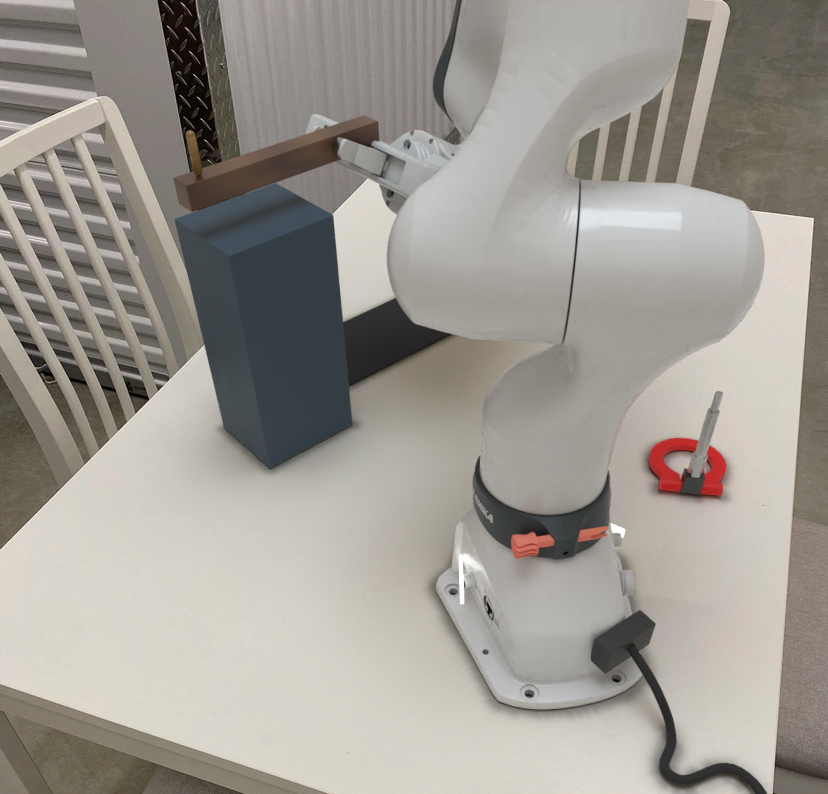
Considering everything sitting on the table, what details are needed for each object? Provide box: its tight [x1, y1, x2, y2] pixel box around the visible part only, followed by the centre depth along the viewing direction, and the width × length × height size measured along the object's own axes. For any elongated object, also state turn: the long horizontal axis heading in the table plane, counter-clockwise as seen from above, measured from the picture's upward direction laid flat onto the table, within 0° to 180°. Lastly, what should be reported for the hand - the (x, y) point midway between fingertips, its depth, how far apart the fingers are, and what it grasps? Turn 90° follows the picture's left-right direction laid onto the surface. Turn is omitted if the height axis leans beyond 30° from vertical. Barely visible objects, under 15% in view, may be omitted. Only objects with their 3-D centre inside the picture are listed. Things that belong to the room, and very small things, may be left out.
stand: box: [173, 182, 353, 470], centre depth 89 cm, size 12×10×26 cm
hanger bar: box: [172, 114, 380, 213], centre depth 77 cm, size 22×2×6 cm, turn 131°
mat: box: [343, 297, 452, 387], centre depth 111 cm, size 20×12×1 cm, turn 131°
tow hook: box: [648, 390, 728, 497], centre depth 88 cm, size 8×13×9 cm
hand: (326, 141), depth 80 cm, fingers closed on hanger bar, 2 cm apart
